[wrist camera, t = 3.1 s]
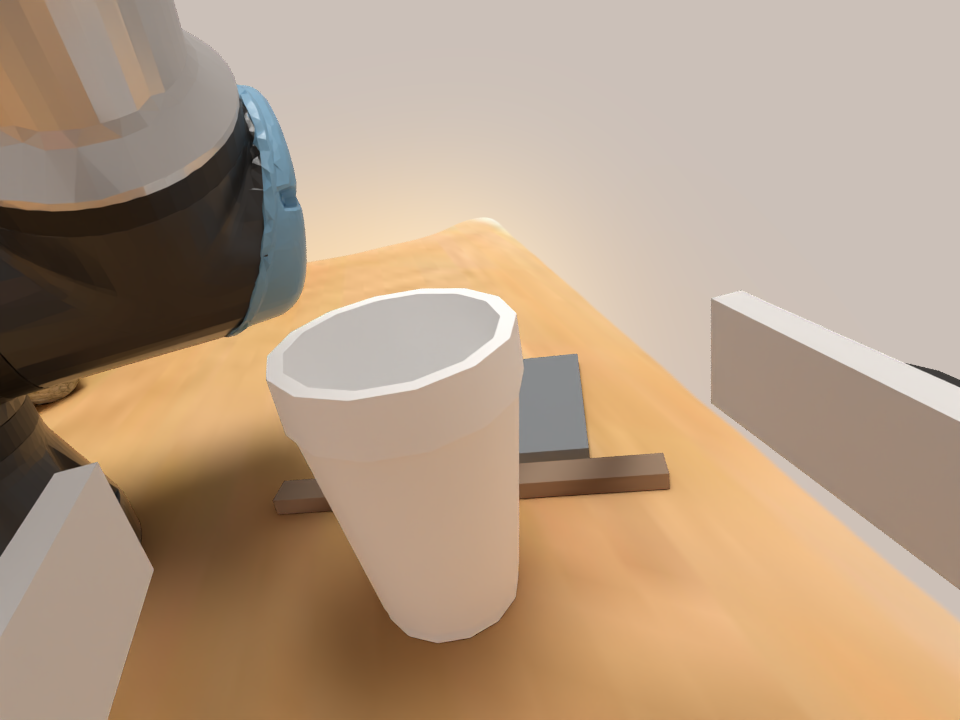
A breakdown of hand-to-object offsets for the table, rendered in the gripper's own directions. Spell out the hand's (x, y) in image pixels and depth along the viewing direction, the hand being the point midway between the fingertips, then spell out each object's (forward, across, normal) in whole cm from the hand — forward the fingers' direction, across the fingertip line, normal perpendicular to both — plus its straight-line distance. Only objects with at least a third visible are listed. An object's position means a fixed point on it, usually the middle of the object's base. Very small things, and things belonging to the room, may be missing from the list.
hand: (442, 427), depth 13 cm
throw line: (+17, +2, -15) cm, 22 cm away
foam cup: (+11, 0, -15) cm, 18 cm away
